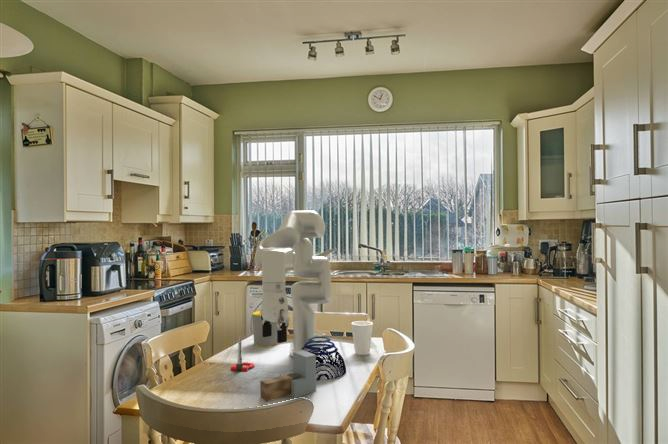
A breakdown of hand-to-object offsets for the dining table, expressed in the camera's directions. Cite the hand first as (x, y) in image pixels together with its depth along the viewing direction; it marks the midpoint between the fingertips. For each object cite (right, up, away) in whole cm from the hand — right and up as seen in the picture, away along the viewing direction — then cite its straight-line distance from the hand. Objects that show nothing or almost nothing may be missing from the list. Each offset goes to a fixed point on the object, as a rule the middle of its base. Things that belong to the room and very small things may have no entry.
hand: (274, 339), depth 147 cm
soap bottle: (-13, -20, +67) cm, 71 cm away
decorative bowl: (+14, -19, +24) cm, 34 cm away
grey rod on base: (-16, -19, +30) cm, 39 cm away
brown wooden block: (+2, -18, 0) cm, 18 cm away
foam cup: (+32, -19, +49) cm, 62 cm away
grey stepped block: (+7, -18, +4) cm, 20 cm away
